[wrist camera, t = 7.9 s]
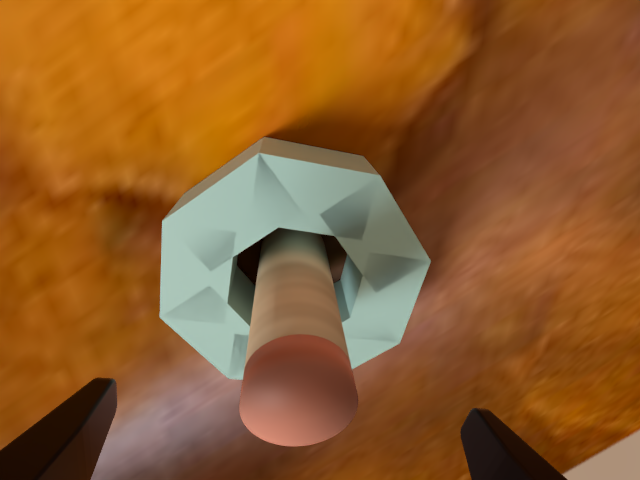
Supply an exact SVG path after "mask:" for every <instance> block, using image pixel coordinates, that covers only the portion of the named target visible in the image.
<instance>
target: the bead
mask: <svg viewBox="0 0 640 480" xmlns="http://www.w3.org/2000/svg"><path fill="white" fill-rule="evenodd" d="M278 227H279V228H286V229H292V230H299V231H305V232H312V233H318V234H325V235H331V236H335V237H336V238H337V240H338V241H339V243H340V244H341V245H342V247H343V248H344V250H345V251H346V252H347V257H346V261H345V264H344V268H343V272H342V276H341V279H340V280H339V281H337V282H335V283H334V284H333V285H334V289H335V294H336V299H337V303H338V308H339V312H340V317H341V322H342V326H343V331H344V335H345V340H346V344H347V349H348V354H349V358H350V363H351V367H352V369H354V368H355V367H357V366H359V365H361V364H363V363H365V362H366V361H368V360H370V359H372V358H374V357H376V356H377V355H379V354H381V353H383V352H385V351H387V350H388V349H390V348H392V347H394V346H396V345H398V344H399V343H400V341H401V339H402V336H403V333H404V331H405V328H406V326H407V323H408V320H409V318H410V315H411V312H412V310H413V307H414V305H415V302H416V299H417V297H418V294H419V291H420V289H421V286H422V283H423V281H424V278H425V276H426V273H427V270H428V268H429V265H430V262H431V260H430V259H429V257H428V255H427V254H426V252H425V250H424V249H423V247H422V245H421V243H420V242H419V240H418V238H417V237H416V235H415V233H414V232H413V230H412V228H411V227H410V225H409V223H408V222H407V220H406V218H405V217H404V215H403V213H402V212H401V210H400V208H399V206H398V205H397V203H396V201H395V200H394V198H393V196H392V195H391V193H390V191H389V190H388V188H387V186H386V185H385V183H384V181H383V180H382V178H381V176H380V175H379V174H378V172H377V171H376V170H375V169H374V168H373V167H372V166H371V164H370V163H369V162H368V161H367V160H366V159H365V157H364V156H361V155H356V154H350V153H345V152H340V151H335V150H330V149H325V148H320V147H314V146H309V145H304V144H299V143H294V142H289V141H284V140H278V139H273V138H268V137H263V138H262V139H260V140H259V141H257V142H256V143H254V144H253V145H252V146H250V147H249V148H247V149H246V150H245V151H243V152H242V153H240V154H239V155H238V156H236V157H235V158H233V159H232V160H231V161H229V162H228V163H226V164H225V165H224V166H222V167H221V168H219V169H218V170H217V171H215V172H214V173H212V174H211V175H210V176H208V177H207V178H205V179H204V180H203V181H201V182H200V183H198V184H197V185H196V186H194V187H193V188H191V189H190V190H189V191H187V192H186V193H184V195H183V196H182V197H181V198H180V200H179V201H178V202H177V203H176V205H175V206H174V207H173V208H172V209H171V211H170V212H169V213H168V214H167V216H166V217H165V218H164V219H163V221H162V250H161V288H160V318H161V319H162V320H163V321H164V322H165V323H166V324H168V325H169V326H170V327H171V328H172V329H173V330H174V331H175V332H177V333H178V334H179V335H180V336H181V337H182V338H183V339H184V340H186V341H187V342H188V343H189V344H190V345H191V346H192V347H193V348H195V349H196V350H197V351H198V352H199V353H200V354H201V355H202V356H203V357H205V358H206V359H207V360H208V361H209V362H210V363H211V364H212V365H214V366H215V367H216V368H217V369H218V370H219V371H220V372H221V373H223V374H224V375H225V376H226V377H227V378H228V379H238V380H243V375H244V367H245V360H246V353H247V346H248V338H249V331H250V324H251V317H252V309H253V302H254V295H255V288H256V286H255V285H254V284H253V283H252V282H251V281H250V280H249V278H248V277H247V276H246V275H245V274H244V273H243V272H242V271H241V270H240V269H239V267H238V266H237V259H238V254H239V253H240V252H242V251H243V250H245V249H246V248H248V247H249V246H251V245H252V244H254V243H256V242H257V241H259V240H260V239H262V238H263V237H265V236H266V235H268V234H269V233H271V232H272V231H274V230H275V229H277V228H278Z"/></svg>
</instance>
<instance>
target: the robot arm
mask: <svg viewBox="0 0 640 480" xmlns="http://www.w3.org/2000/svg"><path fill="white" fill-rule="evenodd" d="M116 408H117V388H116V381H115V380H114V379H110V378H95V379H93V380H92V381H90V382H89V383H88V384H87V385H85V386H84V387H83V388H81V389H80V390H79V391H77V392H76V393H75V394H73V395H72V396H71V397H70V398H68V399H67V400H66V401H64V402H63V403H62V404H60V405H59V406H58V407H56V408H55V409H54V410H53V411H51V412H50V413H49V414H47V415H46V416H45V417H43V418H42V419H41V420H40V421H38V422H37V423H36V424H34V425H33V426H32V427H30V428H29V429H28V430H26V431H25V432H24V433H23V434H21V435H20V436H19V437H17V438H16V439H15V440H13V441H12V442H11V443H9V444H8V445H7V446H6V447H4V448H3V449H2V450H0V480H90V479H91V477H92V474H93V471H94V469H95V466H96V463H97V461H98V458H99V455H100V453H101V450H102V447H103V445H104V442H105V439H106V437H107V434H108V431H109V429H110V426H111V423H112V421H113V418H114V415H115V412H116ZM461 440H462V444H463V448H464V451H465V455H466V459H467V463H468V467H469V471H470V475H471V478H472V480H567V479H566V478H565V477H564V476H563V475H562V474H560V473H559V472H558V471H557V470H556V469H555V468H554V467H553V466H551V465H550V464H549V463H548V462H547V461H546V460H545V459H544V458H542V457H541V456H540V455H539V454H538V453H537V452H536V451H535V450H533V449H532V448H531V447H530V446H529V445H528V444H527V443H526V442H524V441H523V440H522V439H521V438H520V437H519V436H518V435H517V434H515V433H514V432H513V431H512V430H511V429H510V428H509V427H508V426H506V425H505V424H504V423H503V422H502V421H501V420H500V419H499V418H497V417H496V416H495V415H494V414H493V413H492V412H491V411H489V410H487V409H480V408H473V409H472V410H471V411H470V412H469V414H468V416H467V418H466V420H465V422H464V424H463V425H462V427H461Z"/></svg>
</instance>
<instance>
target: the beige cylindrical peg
mask: <svg viewBox="0 0 640 480" xmlns="http://www.w3.org/2000/svg"><path fill="white" fill-rule="evenodd" d="M357 407H358V395H357V390H356V386H355V381H354V377H353V372H352V367H351V363H350V358H349V354H348V349H347V344H346V340H345V335H344V331H343V326H342V322H341V317H340V312H339V308H338V303H337V299H336V294H335V289H334V285H333V280H332V276H331V271H330V266H329V262H328V257H327V253H326V248H325V244H324V241H323V239H322V237H321V235H320V234H318V233H312V232H305V231H299V230H292V229H286V228H279V227H278V228H277V229H275V230H274V231H272V232H271V233H269V234H268V235H266V236H265V238H264V240H263V242H262V245H261V251H260V259H259V266H258V273H257V280H256V288H255V295H254V302H253V309H252V317H251V324H250V331H249V338H248V346H247V353H246V360H245V367H244V375H243V382H242V389H241V396H240V404H239V411H240V416H241V419H242V421H243V423H244V425H245V426H246V427H247V428H248V429H249V430H250V431H251V432H252V433H253V434H254V435H256V436H257V437H259V438H261V439H262V440H265V441H267V442H270V443H273V444H277V445H282V446H306V445H312V444H316V443H319V442H322V441H325V440H327V439H329V438H331V437H333V436H335V435H337V434H338V433H340V432H341V431H342V430H343V429H344V428H346V427H347V426H348V424H349V423H350V422H351V421H352V419H353V418H354V416H355V413H356V411H357Z"/></svg>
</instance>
